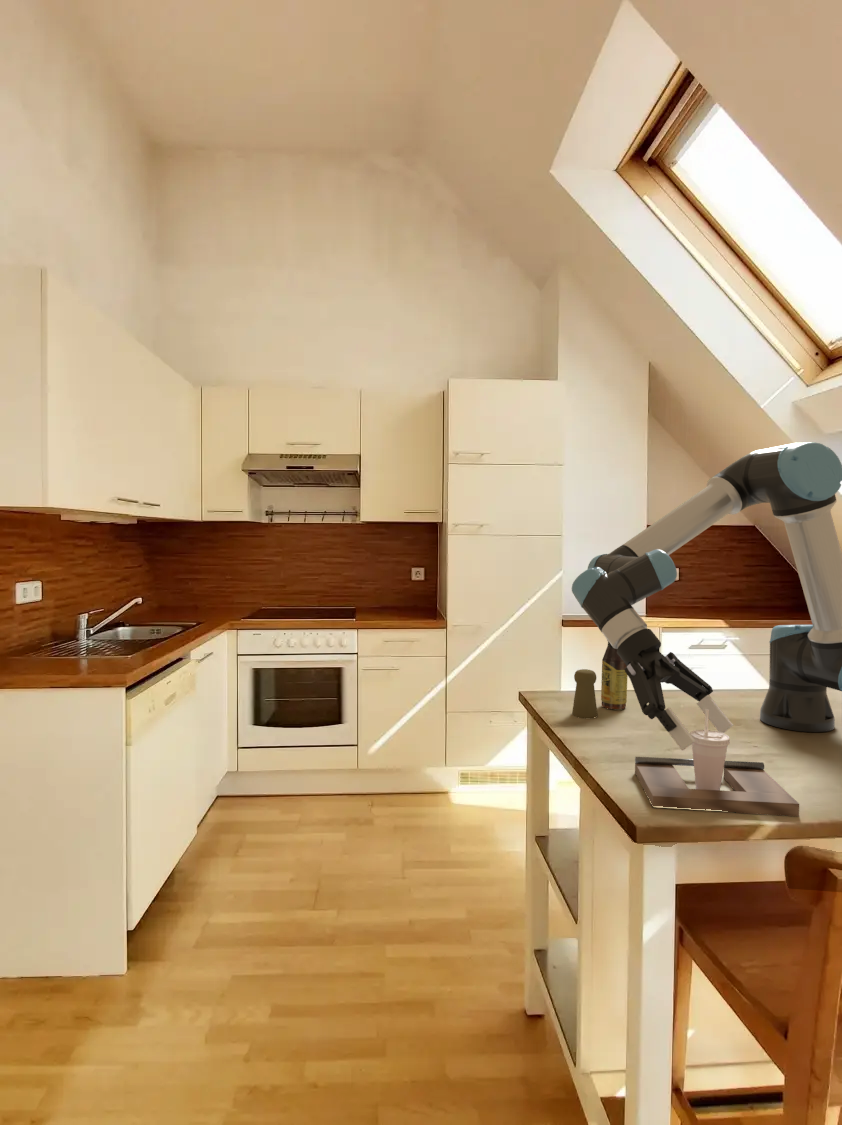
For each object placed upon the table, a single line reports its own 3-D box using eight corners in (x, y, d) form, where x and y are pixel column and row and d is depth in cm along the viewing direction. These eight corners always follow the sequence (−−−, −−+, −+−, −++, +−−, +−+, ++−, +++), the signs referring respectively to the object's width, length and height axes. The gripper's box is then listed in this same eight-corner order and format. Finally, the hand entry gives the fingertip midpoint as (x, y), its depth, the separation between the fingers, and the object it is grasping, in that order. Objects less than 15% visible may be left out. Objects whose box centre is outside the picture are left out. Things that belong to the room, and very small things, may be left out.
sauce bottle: (598, 704, 174) (599, 627, 173) (622, 704, 174) (624, 627, 173) (604, 711, 167) (605, 631, 167) (630, 711, 167) (631, 631, 166)
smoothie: (693, 780, 121) (695, 703, 120) (732, 789, 117) (734, 709, 116) (683, 792, 115) (685, 710, 115) (723, 801, 112) (726, 717, 111)
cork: (598, 719, 160) (599, 673, 160) (572, 717, 161) (572, 671, 161) (596, 712, 166) (597, 668, 166) (571, 711, 167) (572, 666, 167)
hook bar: (761, 768, 122) (761, 761, 122) (764, 770, 120) (764, 763, 120) (635, 762, 125) (635, 755, 124) (636, 764, 123) (636, 757, 123)
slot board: (761, 779, 122) (761, 768, 121) (798, 816, 106) (799, 803, 106) (634, 773, 125) (635, 762, 124) (652, 808, 109) (652, 795, 109)
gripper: (654, 644, 136) (726, 734, 126) (579, 659, 120) (655, 765, 110) (679, 620, 132) (757, 712, 122) (605, 633, 116) (686, 740, 105)
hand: (708, 737), depth 116 cm, fingers open, 13 cm apart
